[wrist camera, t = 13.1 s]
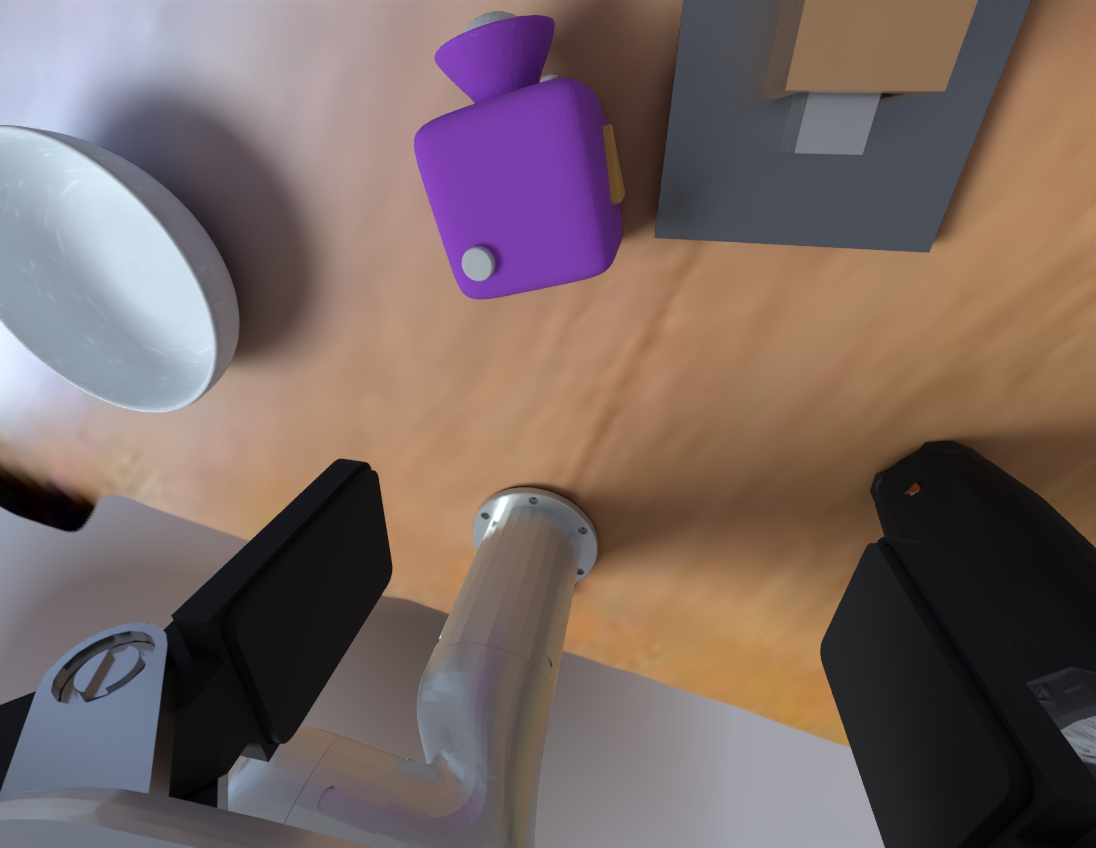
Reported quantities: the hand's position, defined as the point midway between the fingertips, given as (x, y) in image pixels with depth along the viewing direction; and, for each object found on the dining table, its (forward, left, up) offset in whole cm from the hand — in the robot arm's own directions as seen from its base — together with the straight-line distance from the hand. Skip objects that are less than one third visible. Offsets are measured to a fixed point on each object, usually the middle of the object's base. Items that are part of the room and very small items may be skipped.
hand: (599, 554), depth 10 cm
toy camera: (+5, +7, -29) cm, 30 cm away
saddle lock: (+12, -9, -27) cm, 31 cm away
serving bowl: (-4, +40, -29) cm, 50 cm away
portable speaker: (-16, -24, -28) cm, 40 cm away
